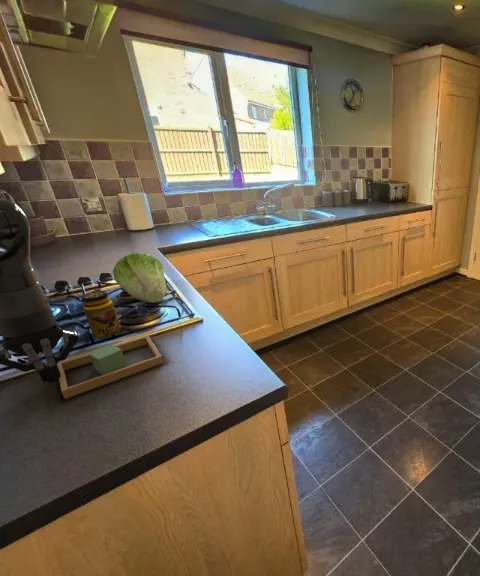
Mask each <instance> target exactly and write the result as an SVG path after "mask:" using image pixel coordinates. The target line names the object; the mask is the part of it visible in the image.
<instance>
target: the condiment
mask: <svg viewBox="0 0 480 576" xmlns="http://www.w3.org/2000/svg"><path fill="white" fill-rule="evenodd" d="M81 300H82V304H83V306H82V307H83V308H82V309H83V311H84V315H85V317H86V319H87V322H88V324H89V327H90V330H91V332H92V335H93V336H94V337H96V338H107V337H111V336H113V335H116V334H118V333H119V332H120V331H121V328H122V326H121V323H120V320H119V316H118V314H117V311H116V307H115V305H114V303H113V301H112V300H111V298H110V296H109V294H108V292H107V291H105V290H94V291H90V292H87V293H85V294H83V295H82V296H81Z"/></svg>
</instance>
